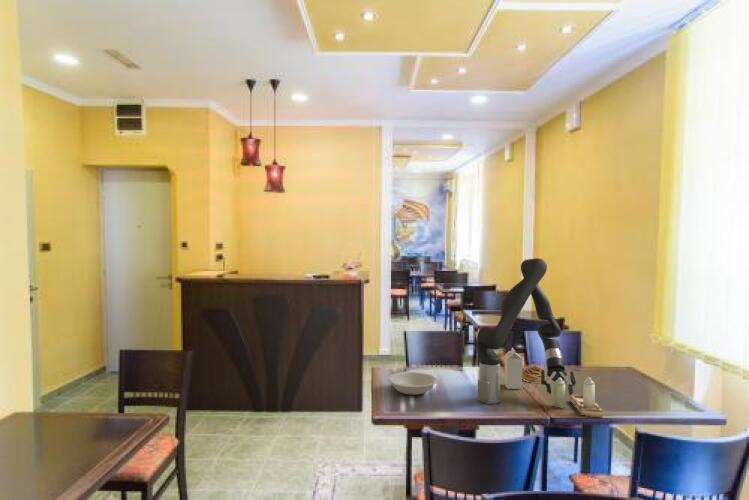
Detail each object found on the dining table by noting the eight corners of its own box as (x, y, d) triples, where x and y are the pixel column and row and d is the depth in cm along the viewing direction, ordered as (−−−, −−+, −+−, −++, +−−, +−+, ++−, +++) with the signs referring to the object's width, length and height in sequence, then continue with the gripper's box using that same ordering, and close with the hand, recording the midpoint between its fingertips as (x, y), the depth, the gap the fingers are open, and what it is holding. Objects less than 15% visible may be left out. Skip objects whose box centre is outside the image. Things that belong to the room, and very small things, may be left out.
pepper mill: (561, 409, 194) (561, 379, 194) (552, 406, 197) (552, 377, 197) (567, 407, 196) (567, 378, 196) (557, 404, 200) (558, 375, 200)
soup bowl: (435, 402, 201) (436, 388, 201) (383, 399, 206) (383, 384, 206) (439, 386, 225) (439, 373, 225) (391, 383, 230) (391, 370, 230)
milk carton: (518, 385, 227) (519, 347, 227) (522, 389, 220) (522, 351, 220) (504, 384, 228) (504, 347, 228) (507, 389, 221) (507, 350, 220)
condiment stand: (602, 417, 185) (602, 410, 185) (582, 416, 186) (582, 408, 186) (589, 402, 203) (589, 395, 203) (570, 401, 204) (570, 394, 204)
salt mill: (591, 410, 187) (591, 379, 187) (581, 406, 191) (581, 376, 191) (596, 407, 190) (596, 377, 190) (586, 404, 193) (586, 375, 193)
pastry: (530, 384, 229) (530, 369, 229) (513, 376, 243) (513, 361, 243) (552, 382, 233) (552, 367, 233) (534, 374, 247) (534, 359, 247)
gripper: (539, 355, 205) (544, 388, 194) (572, 357, 203) (579, 390, 192) (537, 364, 211) (542, 396, 200) (569, 365, 208) (575, 398, 197)
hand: (560, 393), depth 196 cm, fingers open, 8 cm apart
